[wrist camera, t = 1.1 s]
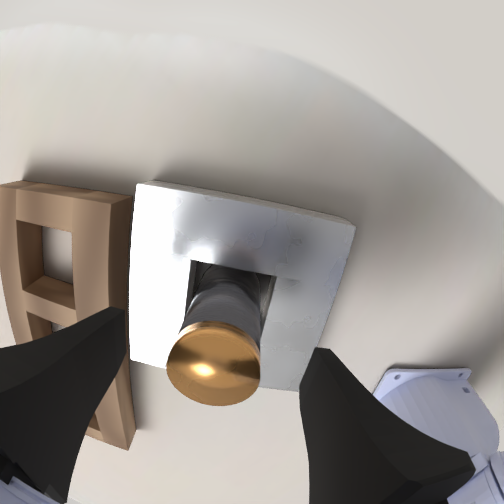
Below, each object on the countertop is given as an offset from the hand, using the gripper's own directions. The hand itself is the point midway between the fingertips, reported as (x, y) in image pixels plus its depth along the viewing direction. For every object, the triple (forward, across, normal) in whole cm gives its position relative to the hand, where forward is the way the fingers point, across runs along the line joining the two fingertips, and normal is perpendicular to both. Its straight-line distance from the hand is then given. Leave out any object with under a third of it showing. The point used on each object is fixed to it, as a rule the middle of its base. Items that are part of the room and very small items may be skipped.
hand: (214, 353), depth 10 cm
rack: (+6, +10, +6) cm, 13 cm away
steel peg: (+6, 0, 0) cm, 6 cm away
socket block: (+6, 0, 0) cm, 6 cm away
